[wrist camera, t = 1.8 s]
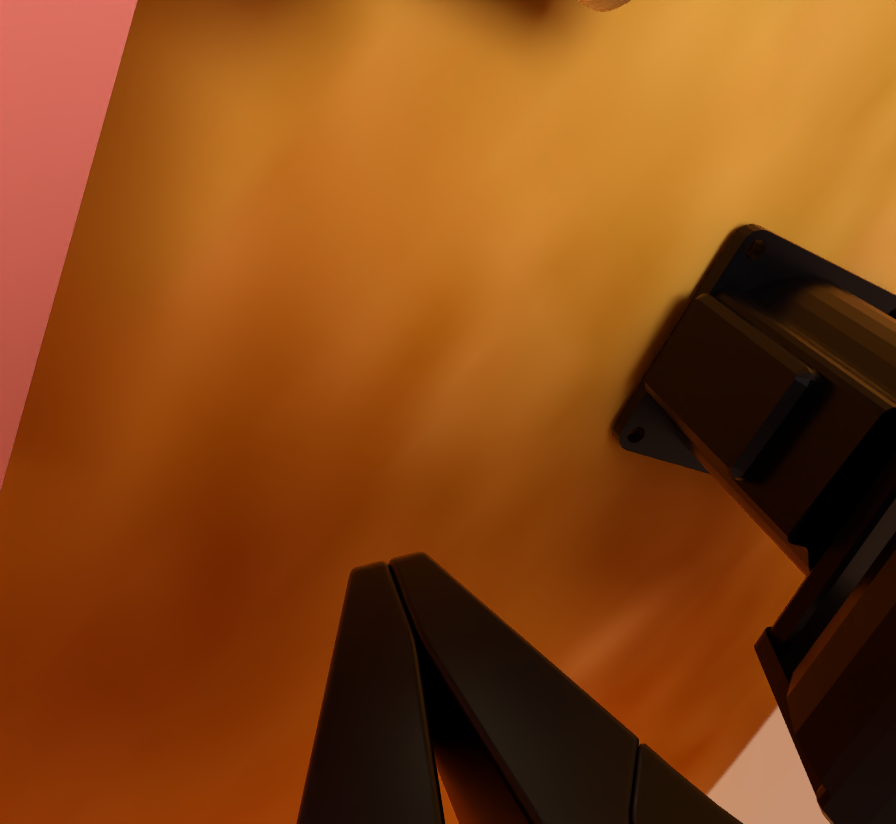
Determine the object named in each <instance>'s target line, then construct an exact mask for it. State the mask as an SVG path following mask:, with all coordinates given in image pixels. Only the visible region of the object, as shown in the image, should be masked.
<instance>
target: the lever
mask: <svg viewBox="0 0 896 824" xmlns="http://www.w3.org/2000/svg"><path fill="white" fill-rule="evenodd" d="M136 4H137V0H0V491H1V488H2V484H3V481H4V477H5V473H6V470H7V466H8V463H9V459H10V455H11V452H12V448H13V445H14V441H15V438H16V434H17V430H18V427H19V423H20V420H21V416H22V412H23V409H24V405H25V402H26V398H27V395H28V391H29V387H30V384H31V380H32V377H33V373H34V369H35V366H36V362H37V359H38V355H39V352H40V348H41V344H42V341H43V337H44V334H45V330H46V326H47V323H48V319H49V316H50V312H51V309H52V305H53V301H54V298H55V294H56V291H57V287H58V283H59V280H60V276H61V273H62V269H63V266H64V262H65V258H66V255H67V251H68V248H69V244H70V240H71V237H72V233H73V230H74V226H75V223H76V219H77V215H78V212H79V208H80V205H81V201H82V197H83V194H84V190H85V187H86V183H87V180H88V176H89V172H90V169H91V165H92V162H93V158H94V154H95V151H96V147H97V144H98V140H99V137H100V133H101V129H102V126H103V122H104V119H105V115H106V111H107V108H108V104H109V101H110V97H111V94H112V90H113V86H114V83H115V79H116V76H117V72H118V68H119V65H120V61H121V58H122V54H123V51H124V47H125V43H126V40H127V36H128V33H129V29H130V25H131V22H132V18H133V15H134V11H135V8H136Z"/></svg>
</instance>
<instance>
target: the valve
mask: <svg viewBox="0 0 896 824" xmlns="http://www.w3.org/2000/svg"><path fill="white" fill-rule="evenodd" d="M577 1H579V2H580V3H582V4H584V5H585V6H587V7H589V8H590V9H592V10H595V11H600V12H604V11H610V10H613V9H616V8H618V7H620V6H622V5H624V4H626V3H627V2H629V1H630V0H577Z"/></svg>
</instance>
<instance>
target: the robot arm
mask: <svg viewBox="0 0 896 824" xmlns="http://www.w3.org/2000/svg"><path fill="white" fill-rule="evenodd" d="M755 240H756V243H755V245H754V247H753V248H752V250H751V251H750V252H748V253H747V249H748V247H749V245H750V244H751V243H752V242H753V241H755ZM636 427H637V429H636V430H635V431H634V432H633V433H631V434H629V432H630V431H631V430H632V429H634V428H636ZM628 434H629V435H628ZM613 436H614V438H615V440H616V441H617V442H618V443H619V444H620V446H621V447H622V448H624V449H626V450H628V451H631V452H635V453H638V454H642V455H645V456H649V457H652V458H656V459H659V460H663V461H667V462H670V463H674V464H677V465H681V466H684V467H688V468H691V469H695V470H698V471H702V472H705V473H709V474H711V475H712V476H713V477H714V478H715V479H716V480H717V481H718V482H719V483H720V484H721V486H722V487H723V488H724V489H725V490H726V491H727V492H728V493H729V494H730V495H731V496H732V497H733V498H734V499H735V500H736V502H737V503H738V504H739V505H740V506H741V507H742V508H743V509H744V510H745V511H746V512H747V513H748V514H749V515H750V517H751V518H752V519H753V520H754V521H755V522H756V523H757V524H758V525H759V526H760V527H761V528H762V529H763V530H764V532H765V533H766V534H767V535H768V536H769V537H770V538H771V539H772V540H773V541H774V542H775V543H776V544H777V545H778V546H779V548H780V549H781V550H782V551H783V552H784V553H785V554H786V555H787V556H788V557H789V558H790V559H791V560H792V561H793V563H794V564H795V565H796V566H797V567H798V568H799V569H800V570H801V571H802V572H803V573H804V574H805V575H806V576H807V577H806V578H805V580H804V581H803V583H802V584H801V586H800V587H799V588H798V590H797V591H796V593H795V594H794V596H793V597H792V599H791V600H790V602H789V603H788V604H787V606H786V607H785V609H784V610H783V612H782V613H781V615H780V616H779V618H778V619H777V620H776V622H775V623H774V625H773V626H772V627H767V628H766V629H765V631H764V632H763V633H762V635H761V636H760V638H759V639H758V641H757V642H756V644H755V645H754V648H755V651H756V653H757V656H758V658H759V661H760V663H761V665H762V668H763V670H764V673H765V675H766V677H767V680H768V682H769V684H770V687H771V689H772V692H773V694H774V696H775V699H776V701H777V704H778V706H779V708H780V711H781V713H782V716H783V718H784V720H785V723H786V725H787V727H788V730H789V732H790V735H791V737H792V740H793V742H794V744H795V747H796V749H797V751H798V754H799V756H800V759H801V761H802V764H803V766H804V768H805V771H806V773H807V776H808V778H809V780H810V783H811V785H812V787H813V790H814V792H815V795H816V797H817V802H818V804H819V806H820V809H821V811H822V813H823V815H824V816H825V818H826V819H827V820H828V821H829V822H830V824H896V295H895V294H893V293H891V292H889V291H887V290H885V289H883V288H881V287H879V286H877V285H875V284H873V283H871V282H869V281H867V280H865V279H863V278H861V277H859V276H857V275H855V274H853V273H851V272H850V271H848V270H846V269H844V268H842V267H840V266H838V265H836V264H834V263H832V262H830V261H828V260H826V259H824V258H822V257H820V256H818V255H816V254H814V253H812V252H810V251H808V250H806V249H804V248H802V247H800V246H798V245H796V244H794V243H792V242H790V241H788V240H787V239H785V238H783V237H781V236H779V235H777V234H775V233H773V232H771V231H769V230H767V229H765V228H763V227H761V226H759V225H755V224H749V225H745V226H743V227H742V228H740V229H739V230H737V232H736V233H735V234H734V235H733V236H732V238H731V239H730V241H729V243H728V244H727V246H726V247H725V249H724V251H723V252H722V254H721V255H720V257H719V258H718V260H717V262H716V263H715V265H714V266H713V268H712V270H711V271H710V273H709V274H708V276H707V278H706V279H705V281H704V282H703V284H702V285H701V287H700V289H699V290H698V292H697V293H696V295H695V297H694V298H693V300H692V301H691V303H690V305H689V306H688V308H687V309H686V311H685V313H684V314H683V316H682V317H681V319H680V320H679V322H678V324H677V325H676V327H675V328H674V330H673V332H672V333H671V335H670V336H669V338H668V340H667V341H666V343H665V344H664V346H663V347H662V349H661V351H660V352H659V354H658V355H657V357H656V359H655V360H654V362H653V363H652V365H651V367H650V368H649V370H648V371H647V373H646V374H645V376H644V378H643V379H642V381H641V382H640V384H639V386H638V387H637V389H636V390H635V392H634V394H633V395H632V397H631V398H630V400H629V402H628V403H627V405H626V406H625V408H624V409H623V411H622V413H621V414H620V416H619V417H618V419H617V421H616V422H615V424H614V427H613ZM638 746H639V747H638ZM436 766H437V767H436ZM437 769H438V771H439V774H440V776H441V779H442V781H443V784H444V786H445V789H446V791H447V794H448V796H449V799H450V801H451V804H452V806H453V809H454V811H455V814H456V816H457V819H458V821H459V824H743V823H742V822H740V821H739V820H737V819H736V818H735V817H733V816H732V815H731V814H729V813H728V812H727V811H725V810H724V809H722V808H721V807H720V806H718V805H717V804H716V803H715V802H714V801H712V800H711V799H710V798H709V797H708V796H706V795H705V794H704V793H703V792H701V791H700V790H699V789H698V788H697V787H695V786H694V785H693V784H692V783H691V782H689V781H688V780H687V779H686V778H684V777H683V776H682V775H681V774H680V773H678V772H677V771H676V770H675V769H673V768H672V767H671V766H670V765H669V764H668V763H667V762H666V761H664V760H663V759H662V758H661V757H660V756H659V755H658V754H656V753H655V752H654V751H653V750H652V749H651V748H650V747H648V746H647V745H646V744H644V743H642V744H640V745H639V739H638V738H637V737H636V736H635V735H634V734H633V733H632V732H631V731H630V730H628V729H627V728H626V727H625V726H624V725H623V724H622V723H620V722H619V721H618V720H617V719H616V718H615V717H614V716H612V715H611V714H610V713H609V712H608V711H607V710H605V709H604V708H603V707H602V706H601V705H600V704H599V703H597V702H596V701H595V700H594V699H593V698H592V697H591V696H589V695H588V694H587V693H586V692H585V691H584V690H582V689H581V688H580V687H579V686H578V685H577V684H576V683H574V682H573V681H572V680H571V679H570V678H569V677H568V676H566V675H565V674H564V673H563V672H562V671H561V670H559V669H558V668H557V667H556V666H555V665H554V664H553V663H551V662H550V661H549V660H548V659H547V658H546V657H545V656H543V655H542V654H541V653H540V652H539V651H538V650H536V649H535V648H534V647H533V646H532V645H531V644H530V643H528V642H527V641H526V640H525V639H524V638H523V637H522V636H520V635H519V634H518V633H517V632H516V631H515V630H513V629H512V628H511V627H510V626H509V625H508V624H507V623H505V622H504V621H503V620H502V619H501V618H500V617H499V616H497V615H496V614H495V613H494V612H493V611H492V610H490V609H489V608H488V607H487V606H486V605H485V604H484V603H482V602H481V601H480V600H479V599H478V598H477V597H476V596H474V595H473V594H472V593H471V592H470V591H469V590H468V589H466V588H465V587H464V586H463V585H462V584H461V583H459V582H458V581H457V580H456V579H455V578H454V577H453V576H451V575H450V574H449V573H448V572H447V571H446V570H445V569H443V568H442V567H441V566H440V565H439V564H438V563H436V562H435V561H434V560H433V559H432V558H431V557H430V556H428V555H427V554H426V553H423V552H416V553H412V554H408V555H404V556H400V557H396V558H393V559H391V560H390V562H389V565H388V564H387V563H386V562H384V561H379V562H375V563H371V564H367V565H363V566H359V567H355V568H354V569H352V571H351V573H350V576H349V580H348V585H347V589H346V594H345V599H344V603H343V608H342V613H341V618H340V622H339V627H338V632H337V636H336V641H335V646H334V650H333V655H332V660H331V664H330V669H329V674H328V678H327V683H326V688H325V693H324V697H323V702H322V707H321V711H320V716H319V721H318V725H317V730H316V735H315V739H314V744H313V749H312V754H311V758H310V763H309V768H308V772H307V777H306V782H305V786H304V791H303V796H302V800H301V805H300V810H299V815H298V819H297V824H445V819H444V813H443V806H442V800H441V793H440V787H439V780H438V773H437Z"/></svg>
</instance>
